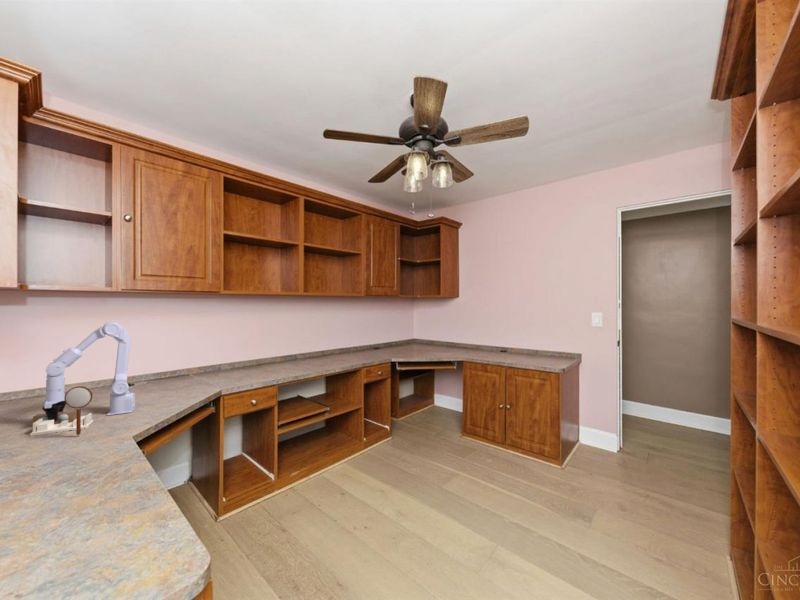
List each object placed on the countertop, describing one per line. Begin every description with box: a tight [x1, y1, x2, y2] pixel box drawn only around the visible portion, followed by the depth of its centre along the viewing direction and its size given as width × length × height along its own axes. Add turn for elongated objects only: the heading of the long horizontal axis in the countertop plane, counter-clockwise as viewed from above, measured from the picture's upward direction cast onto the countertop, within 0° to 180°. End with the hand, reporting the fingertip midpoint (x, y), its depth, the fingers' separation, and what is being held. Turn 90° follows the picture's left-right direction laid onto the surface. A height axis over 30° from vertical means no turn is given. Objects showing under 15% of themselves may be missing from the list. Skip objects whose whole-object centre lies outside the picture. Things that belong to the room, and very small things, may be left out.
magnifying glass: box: [64, 385, 93, 437], centre depth 134 cm, size 9×2×20 cm, turn 110°
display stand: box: [29, 412, 95, 437], centre depth 142 cm, size 17×9×4 cm, turn 117°
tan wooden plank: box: [32, 409, 77, 424], centre depth 148 cm, size 13×4×4 cm, turn 117°
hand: (55, 420), depth 148 cm, fingers closed on tan wooden plank, 4 cm apart
